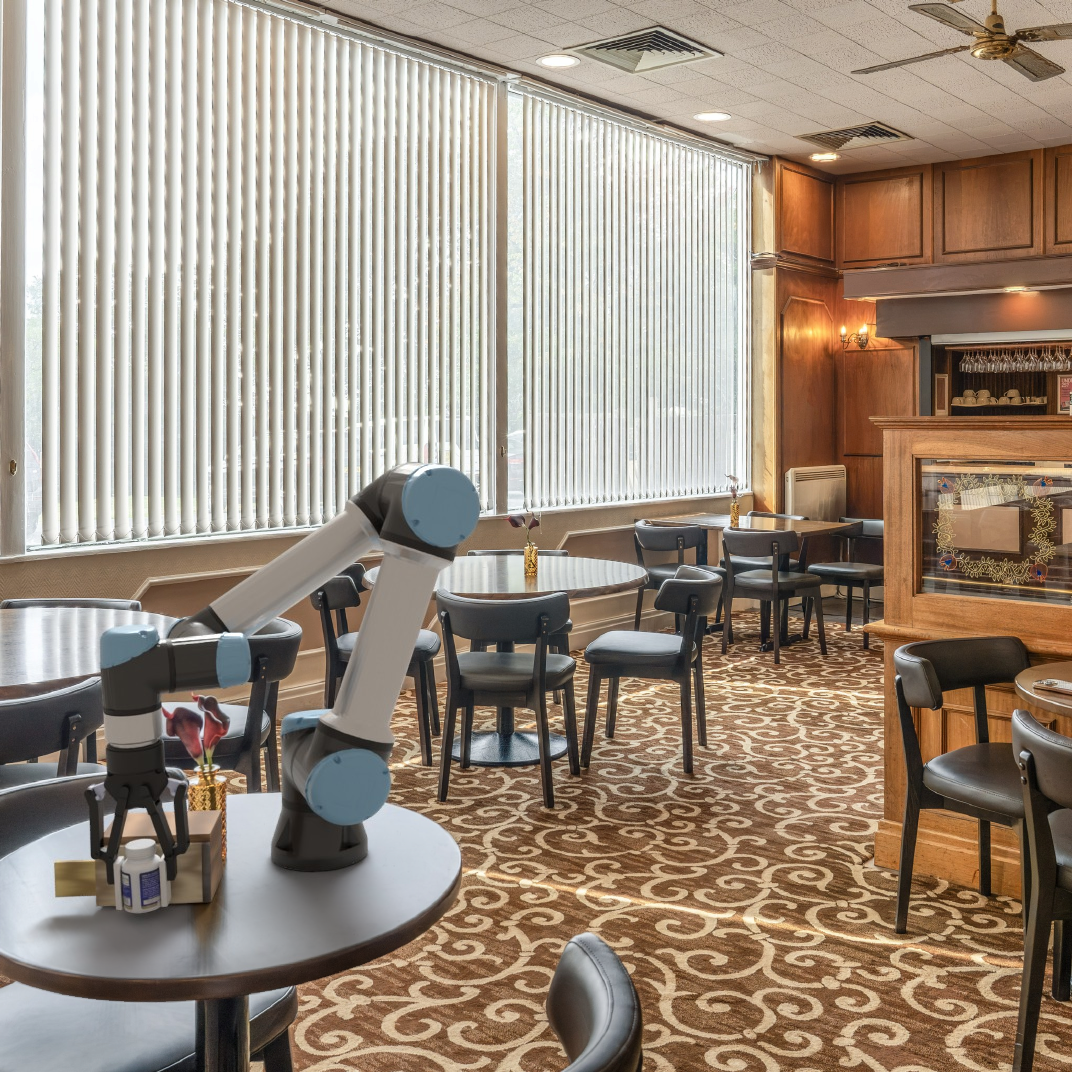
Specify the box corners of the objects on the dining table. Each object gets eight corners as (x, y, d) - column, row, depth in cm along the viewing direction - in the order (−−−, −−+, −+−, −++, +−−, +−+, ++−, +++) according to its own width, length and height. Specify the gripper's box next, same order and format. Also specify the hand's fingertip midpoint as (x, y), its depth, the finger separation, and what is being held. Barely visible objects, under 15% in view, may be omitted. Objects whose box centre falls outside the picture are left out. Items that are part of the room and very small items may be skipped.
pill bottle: (168, 897, 157) (165, 836, 157) (157, 913, 152) (154, 850, 151) (130, 898, 157) (127, 837, 156) (118, 915, 152) (114, 851, 151)
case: (222, 874, 170) (221, 810, 169) (211, 901, 160) (209, 833, 159) (120, 878, 168) (118, 813, 167) (102, 906, 158) (100, 837, 157)
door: (211, 898, 160) (210, 841, 159) (210, 902, 159) (209, 844, 158) (57, 904, 157) (55, 846, 157) (54, 908, 156) (52, 849, 155)
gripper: (208, 729, 157) (216, 888, 160) (72, 735, 155) (82, 897, 157) (198, 744, 150) (207, 911, 152) (55, 751, 148) (66, 920, 150)
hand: (144, 903), depth 155 cm, fingers closed on pill bottle, 5 cm apart
